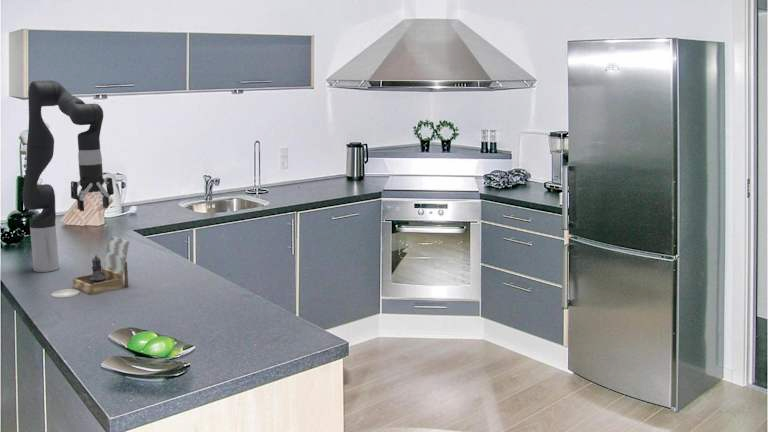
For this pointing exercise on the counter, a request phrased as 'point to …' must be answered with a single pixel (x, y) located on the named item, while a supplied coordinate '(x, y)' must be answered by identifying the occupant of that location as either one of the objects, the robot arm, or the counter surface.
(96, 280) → the grey tall domed piece
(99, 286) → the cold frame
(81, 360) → the counter surface
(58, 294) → the saucer
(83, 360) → the counter surface
